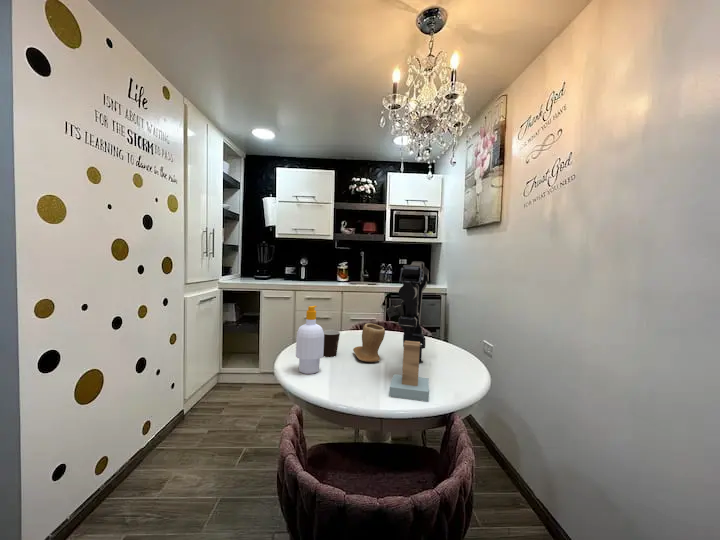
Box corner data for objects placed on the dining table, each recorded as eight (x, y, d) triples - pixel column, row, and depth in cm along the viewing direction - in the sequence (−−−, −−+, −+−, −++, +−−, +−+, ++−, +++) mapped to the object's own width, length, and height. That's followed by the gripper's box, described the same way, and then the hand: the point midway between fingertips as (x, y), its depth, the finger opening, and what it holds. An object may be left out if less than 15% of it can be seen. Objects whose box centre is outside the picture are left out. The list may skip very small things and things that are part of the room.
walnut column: (403, 378, 110) (404, 340, 109) (418, 380, 109) (420, 341, 108) (401, 384, 105) (403, 344, 104) (417, 386, 104) (419, 345, 103)
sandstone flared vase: (386, 364, 134) (388, 327, 134) (358, 364, 132) (359, 327, 132) (378, 353, 149) (379, 320, 149) (352, 353, 147) (354, 320, 147)
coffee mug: (331, 359, 137) (332, 335, 137) (315, 355, 141) (316, 332, 141) (346, 352, 147) (347, 330, 147) (330, 349, 152) (331, 328, 151)
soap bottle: (327, 369, 125) (330, 306, 124) (313, 377, 115) (316, 309, 114) (305, 364, 129) (307, 303, 128) (289, 372, 119) (291, 306, 119)
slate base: (393, 382, 114) (393, 374, 114) (428, 386, 112) (428, 378, 111) (389, 396, 102) (389, 387, 102) (428, 401, 100) (428, 391, 100)
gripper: (392, 295, 132) (390, 333, 132) (384, 299, 114) (382, 344, 114) (420, 297, 129) (418, 336, 129) (417, 302, 111) (414, 347, 111)
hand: (408, 340), depth 121 cm, fingers open, 9 cm apart
